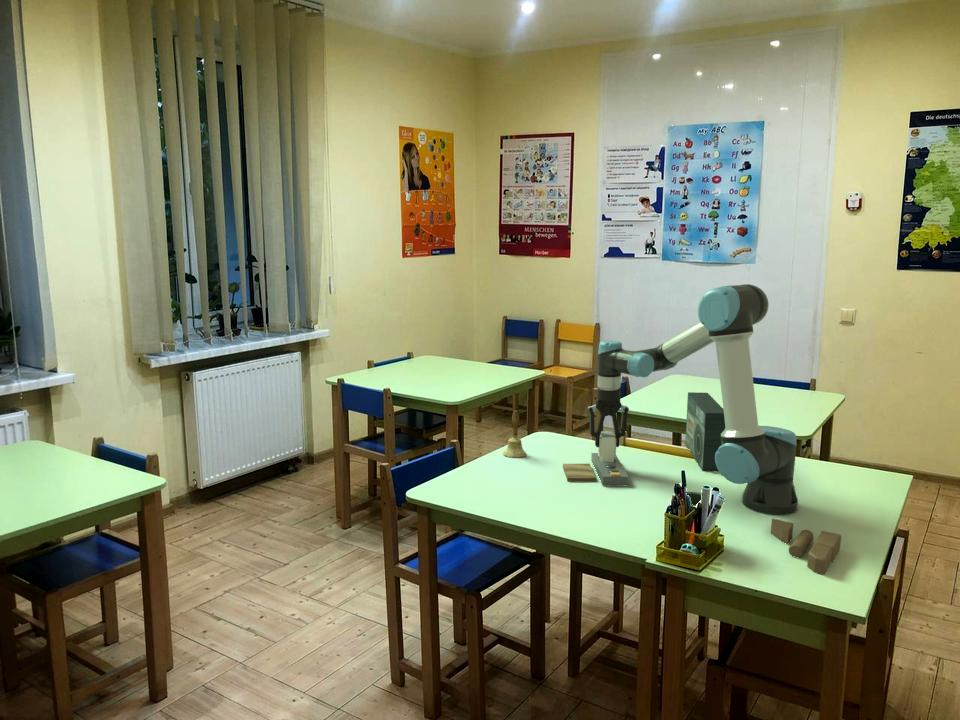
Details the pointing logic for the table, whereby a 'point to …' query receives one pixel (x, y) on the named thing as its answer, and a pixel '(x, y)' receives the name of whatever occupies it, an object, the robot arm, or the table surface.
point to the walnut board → (579, 472)
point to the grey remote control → (610, 471)
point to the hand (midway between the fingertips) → (606, 456)
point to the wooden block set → (819, 553)
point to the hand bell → (514, 440)
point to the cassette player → (704, 429)
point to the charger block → (607, 446)
